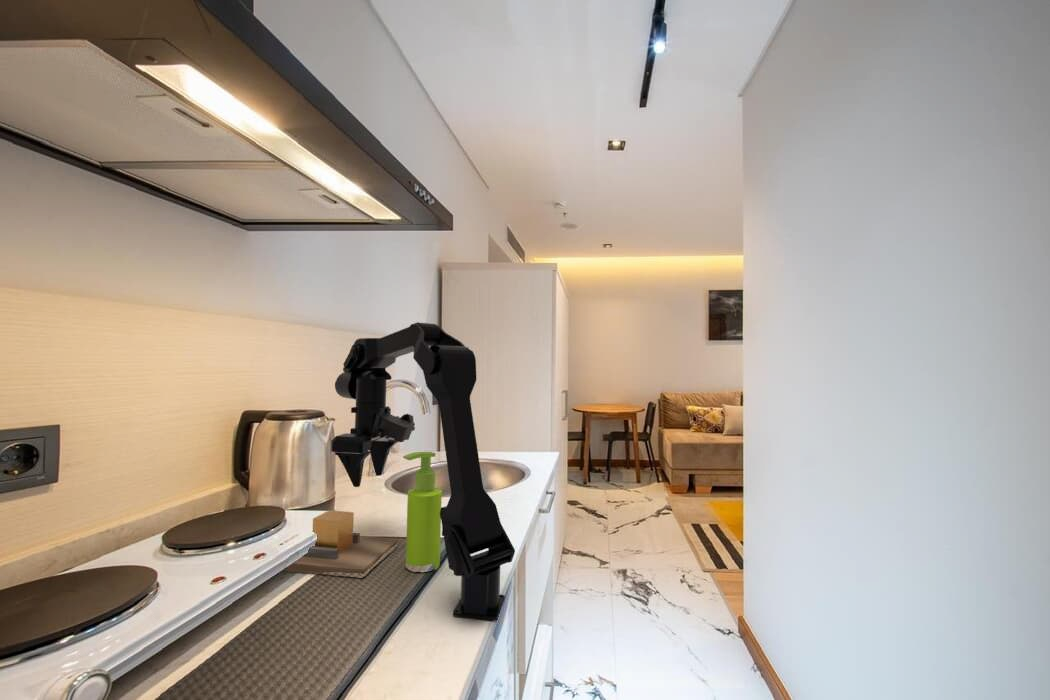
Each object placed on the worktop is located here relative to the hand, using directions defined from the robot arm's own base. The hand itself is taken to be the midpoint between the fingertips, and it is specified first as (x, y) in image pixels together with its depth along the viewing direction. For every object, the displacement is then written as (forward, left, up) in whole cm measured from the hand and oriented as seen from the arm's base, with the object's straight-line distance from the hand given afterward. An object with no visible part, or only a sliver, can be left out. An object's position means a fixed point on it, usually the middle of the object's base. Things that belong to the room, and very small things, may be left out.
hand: (368, 480), depth 95 cm
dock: (-8, 0, -12) cm, 14 cm away
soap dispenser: (-9, -14, -12) cm, 21 cm away
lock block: (-8, +2, -10) cm, 13 cm away
